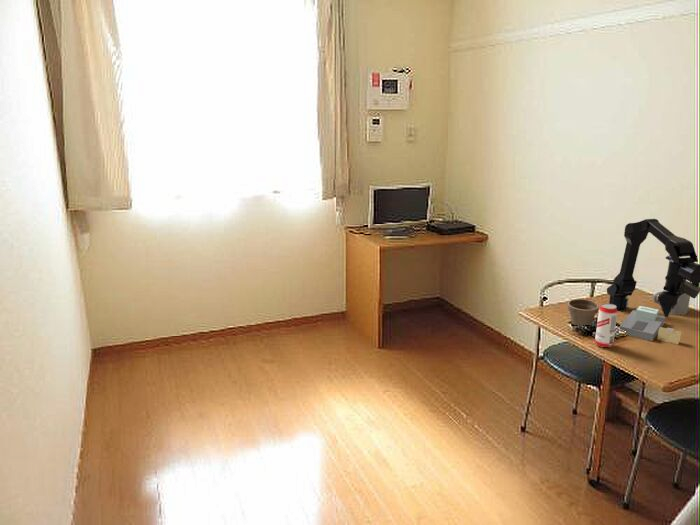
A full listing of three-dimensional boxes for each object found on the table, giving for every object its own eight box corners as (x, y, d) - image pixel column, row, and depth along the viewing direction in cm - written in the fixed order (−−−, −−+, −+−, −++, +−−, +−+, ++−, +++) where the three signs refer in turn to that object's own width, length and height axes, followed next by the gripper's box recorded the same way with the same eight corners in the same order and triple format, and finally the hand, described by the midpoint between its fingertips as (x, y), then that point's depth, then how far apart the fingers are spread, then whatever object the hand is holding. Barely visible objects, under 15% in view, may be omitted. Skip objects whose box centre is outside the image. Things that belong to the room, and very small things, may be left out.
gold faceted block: (678, 344, 201) (680, 332, 199) (657, 339, 205) (659, 327, 203) (679, 342, 202) (681, 330, 201) (658, 337, 207) (660, 325, 205)
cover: (635, 316, 218) (636, 308, 217) (638, 312, 222) (639, 304, 221) (654, 320, 214) (656, 312, 213) (657, 316, 217) (658, 308, 216)
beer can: (605, 350, 198) (610, 310, 193) (590, 343, 203) (595, 304, 198) (616, 346, 200) (622, 307, 195) (602, 340, 206) (607, 301, 201)
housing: (618, 333, 211) (619, 325, 210) (632, 316, 225) (633, 309, 224) (652, 341, 203) (653, 333, 202) (664, 323, 218) (665, 316, 217)
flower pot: (580, 335, 210) (582, 311, 207) (559, 324, 220) (561, 301, 217) (602, 329, 214) (605, 306, 211) (581, 319, 224) (583, 296, 221)
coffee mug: (687, 308, 232) (691, 286, 228) (687, 316, 224) (691, 294, 220) (652, 302, 238) (655, 281, 235) (650, 310, 230) (654, 288, 227)
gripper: (696, 286, 186) (688, 327, 191) (706, 271, 199) (698, 309, 204) (660, 279, 192) (653, 318, 198) (672, 265, 206) (665, 302, 211)
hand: (669, 312), depth 202 cm, fingers open, 9 cm apart
